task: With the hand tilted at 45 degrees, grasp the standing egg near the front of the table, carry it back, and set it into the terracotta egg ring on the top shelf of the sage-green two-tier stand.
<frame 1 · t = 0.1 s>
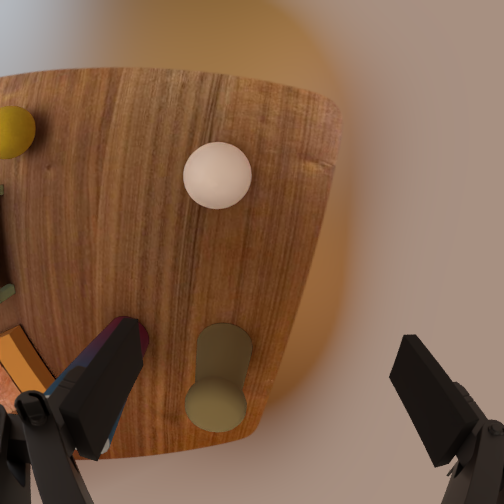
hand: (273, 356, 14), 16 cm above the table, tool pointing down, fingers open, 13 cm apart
lemon: (32, 132, 27), on the table
egg: (222, 173, 28), on the table
cup: (129, 334, 33), on the table
cork: (224, 345, 33), on the table
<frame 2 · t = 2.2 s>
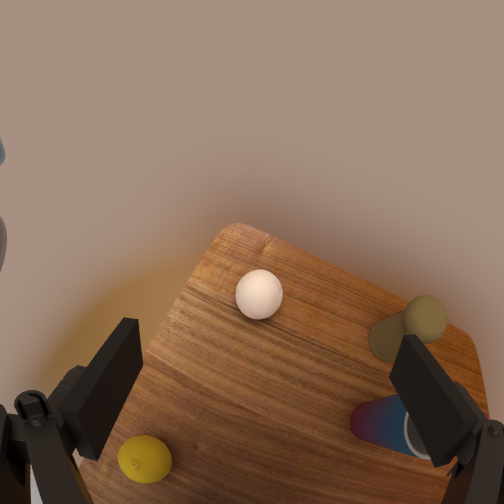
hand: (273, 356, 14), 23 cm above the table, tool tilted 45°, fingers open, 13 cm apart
lemon: (154, 454, 30), on the table
egg: (256, 305, 39), on the table
cup: (368, 421, 32), on the table
cork: (388, 340, 37), on the table
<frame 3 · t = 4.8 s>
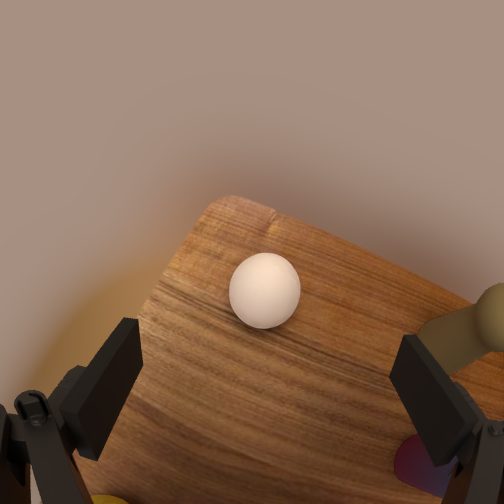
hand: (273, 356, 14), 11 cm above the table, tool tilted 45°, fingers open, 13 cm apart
egg: (260, 307, 27), on the table
cup: (416, 458, 20), on the table
cork: (439, 348, 26), on the table
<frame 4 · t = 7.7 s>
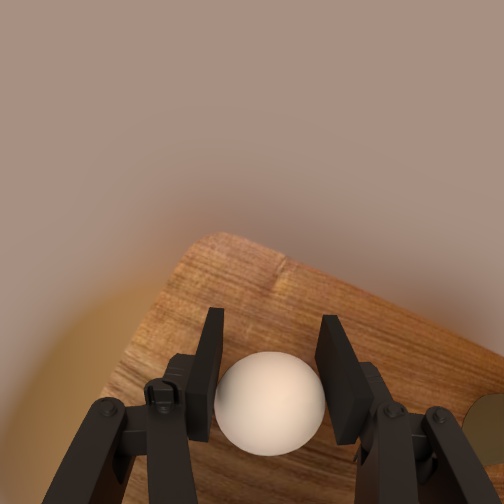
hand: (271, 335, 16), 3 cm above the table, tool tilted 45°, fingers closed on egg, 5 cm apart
egg: (262, 405, 18), on the table, touching gripper
cork: (485, 430, 16), on the table
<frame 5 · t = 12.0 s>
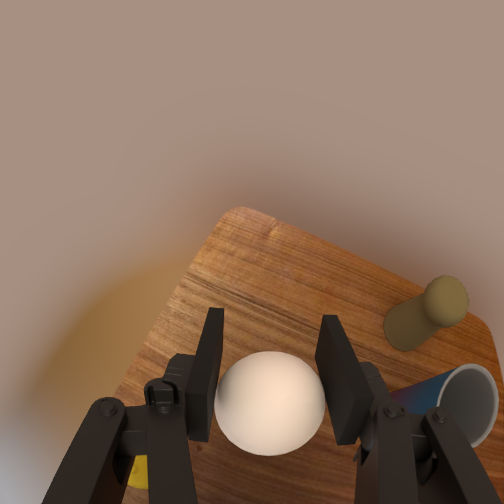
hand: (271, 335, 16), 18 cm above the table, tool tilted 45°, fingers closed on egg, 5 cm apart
lemon: (154, 456, 27), on the table
egg: (262, 405, 18), point 14 cm above the table, touching gripper
cup: (385, 415, 30), on the table
cork: (404, 328, 35), on the table
when the fingers open (14 cm above the table, at t = 16.3 s): egg stays where it is, resting on shelf.
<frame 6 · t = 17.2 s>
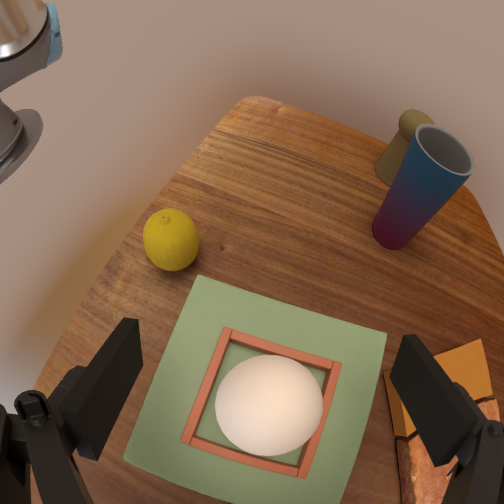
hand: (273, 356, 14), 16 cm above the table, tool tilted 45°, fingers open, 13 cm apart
shelf: (254, 406, 27), on the table
lemon: (178, 260, 34), on the table
egg: (262, 406, 18), point 10 cm above the table, touching shelf
bread: (446, 476, 23), on the table
cup: (389, 233, 37), on the table
cork: (393, 174, 42), on the table
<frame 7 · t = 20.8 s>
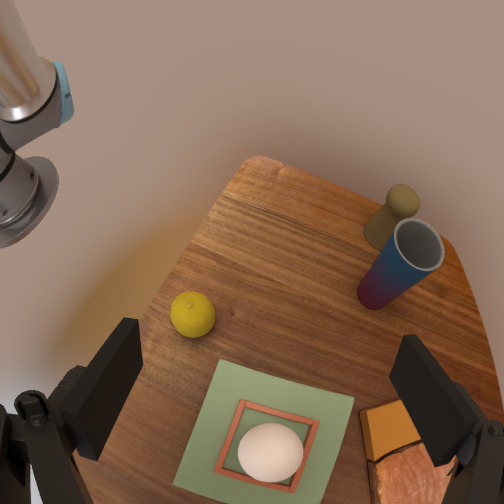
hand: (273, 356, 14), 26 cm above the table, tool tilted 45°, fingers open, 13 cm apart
shelf: (259, 437, 34), on the table
lemon: (196, 323, 42), on the table
egg: (266, 447, 25), point 10 cm above the table, touching shelf
bread: (411, 490, 30), on the table
cup: (372, 294, 45), on the table
cork: (380, 235, 50), on the table
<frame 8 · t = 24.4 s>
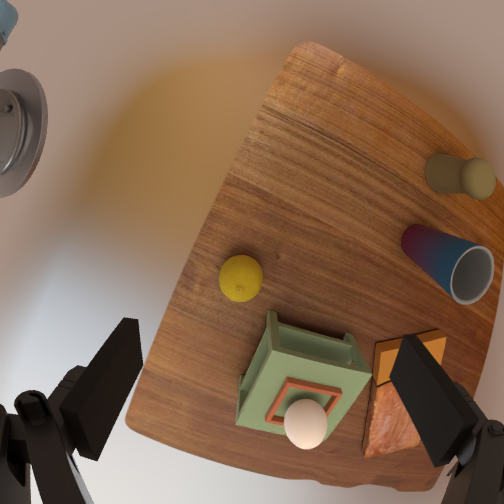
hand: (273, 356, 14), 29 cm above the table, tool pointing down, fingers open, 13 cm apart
shelf: (294, 358, 48), on the table
lemon: (242, 266, 44), on the table
egg: (302, 402, 38), point 10 cm above the table, touching shelf
bread: (398, 398, 51), on the table
cup: (415, 240, 42), on the table
cork: (440, 172, 39), on the table
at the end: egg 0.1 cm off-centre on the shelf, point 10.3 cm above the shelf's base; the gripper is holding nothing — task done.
